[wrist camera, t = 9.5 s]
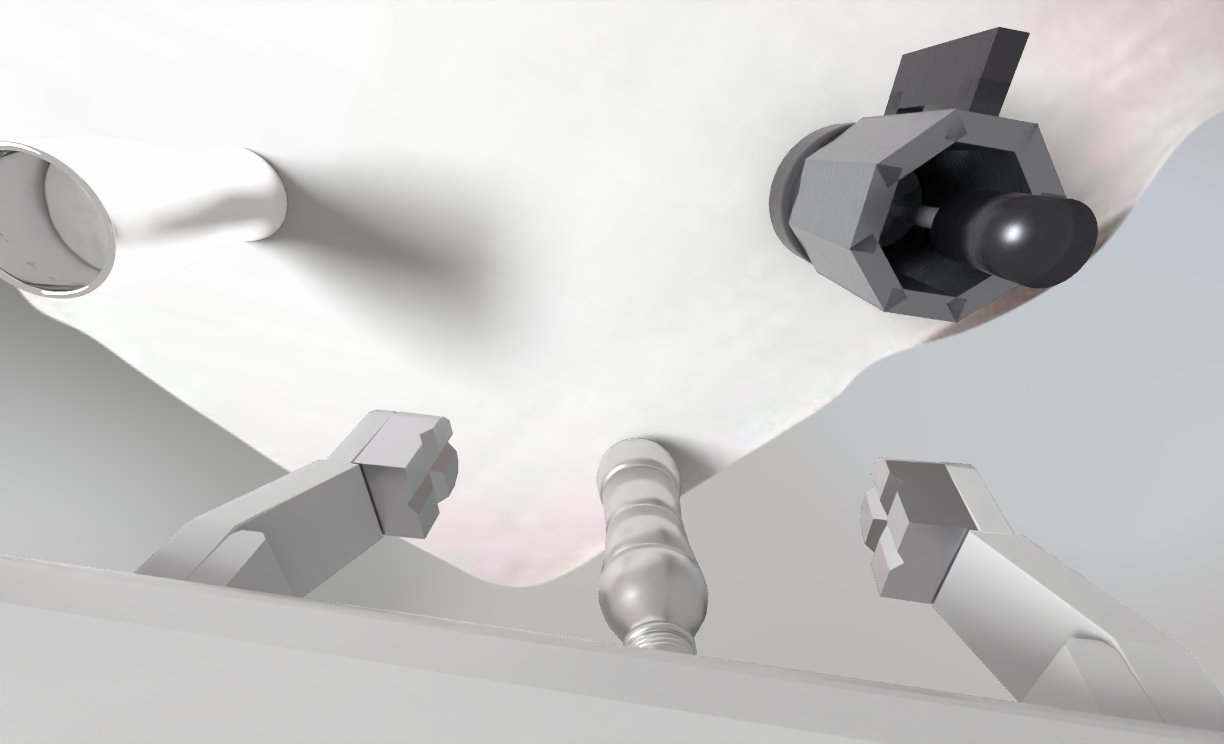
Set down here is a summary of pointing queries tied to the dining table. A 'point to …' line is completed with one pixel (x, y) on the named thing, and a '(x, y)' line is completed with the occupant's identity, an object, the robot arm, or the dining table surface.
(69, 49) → the dining table surface
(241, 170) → the beer glass
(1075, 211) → the plunger
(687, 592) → the plastic bottle
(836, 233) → the press carafe
